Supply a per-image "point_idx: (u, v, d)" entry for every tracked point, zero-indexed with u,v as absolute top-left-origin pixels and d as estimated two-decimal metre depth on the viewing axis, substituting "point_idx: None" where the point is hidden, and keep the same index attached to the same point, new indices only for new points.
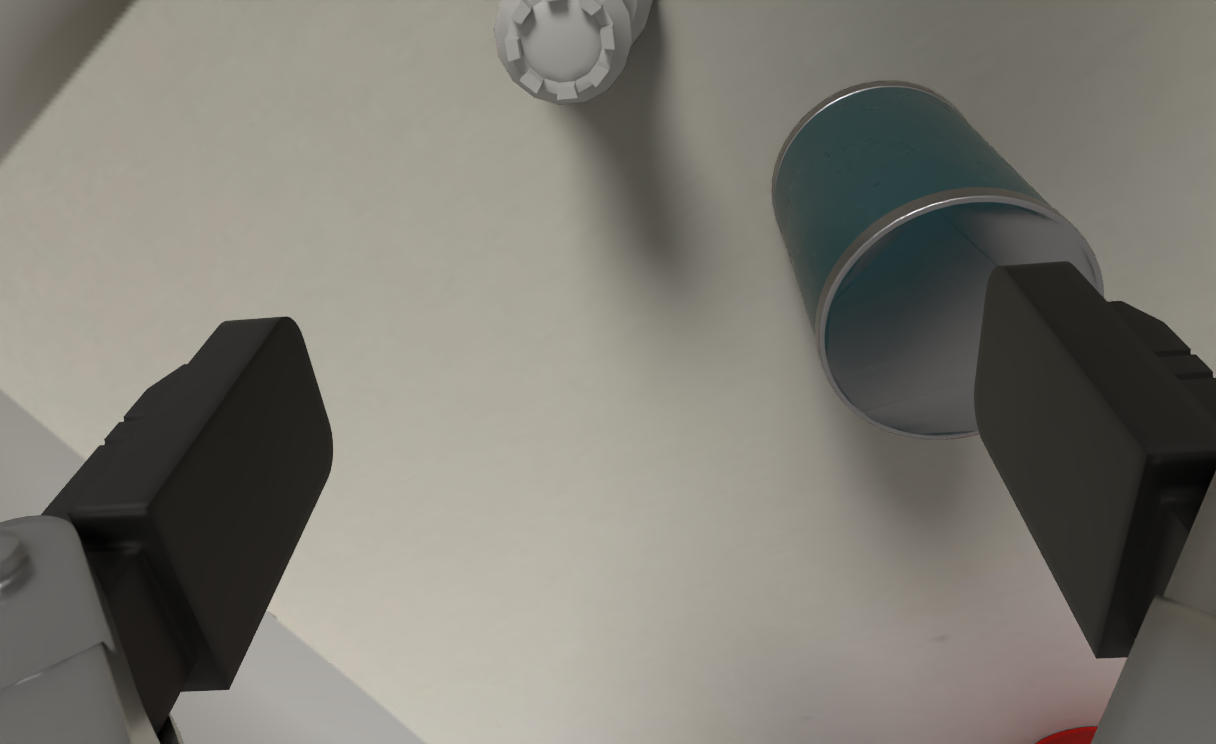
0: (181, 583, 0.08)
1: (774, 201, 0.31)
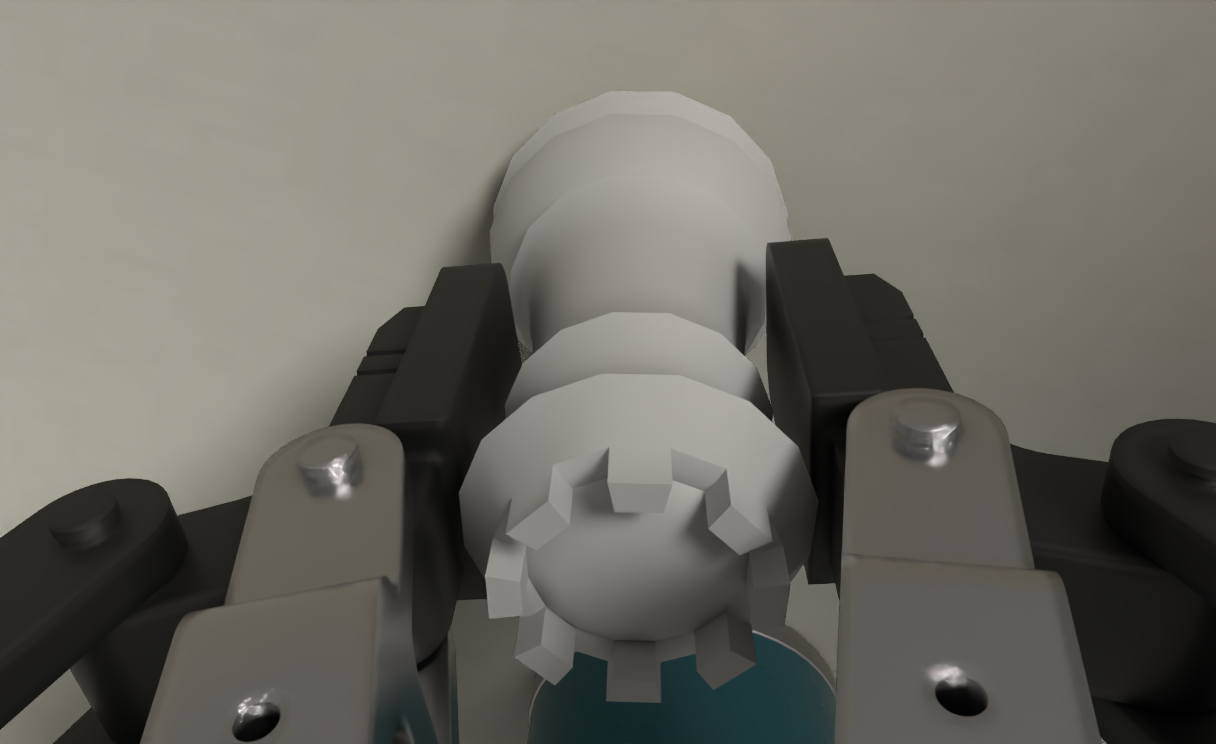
0: None
1: None
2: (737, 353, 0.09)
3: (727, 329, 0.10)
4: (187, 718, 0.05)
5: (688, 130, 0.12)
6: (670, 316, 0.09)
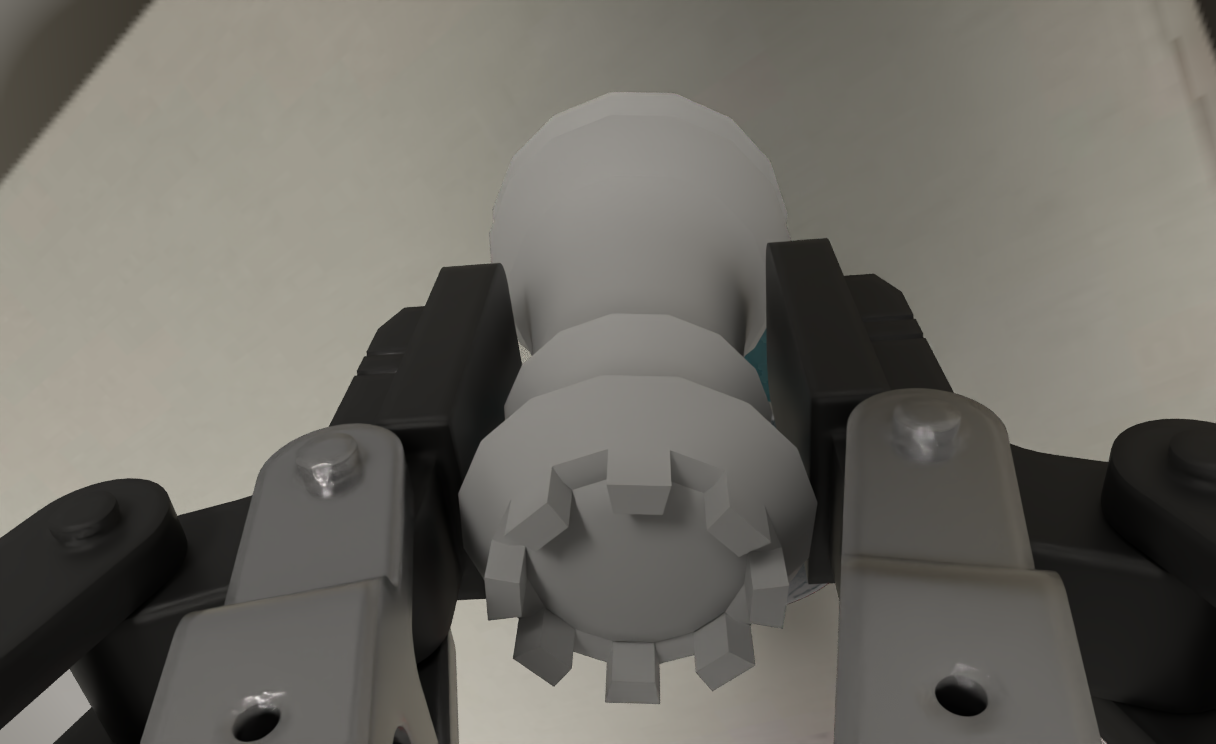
0: None
1: None
2: (736, 354, 0.09)
3: (726, 330, 0.10)
4: (187, 718, 0.05)
5: (688, 131, 0.12)
6: (669, 317, 0.09)
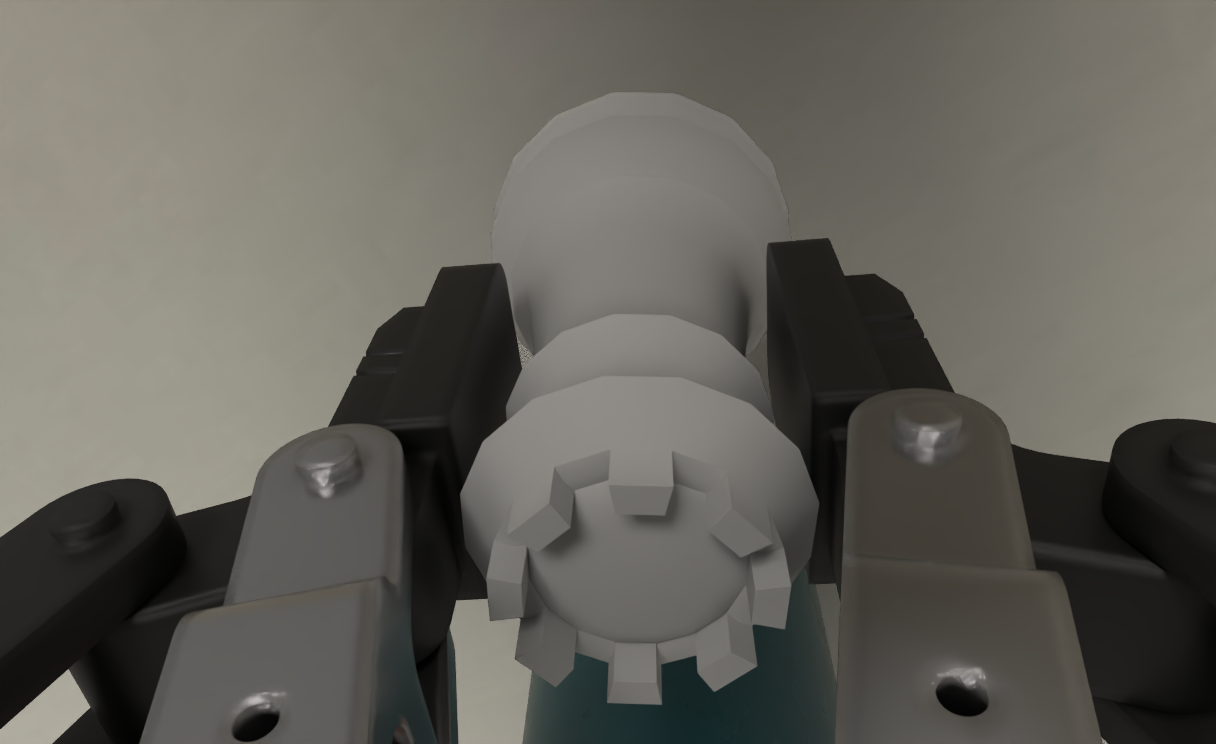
0: None
1: None
2: (738, 355, 0.09)
3: (728, 331, 0.10)
4: (186, 719, 0.05)
5: (689, 131, 0.12)
6: (671, 318, 0.09)
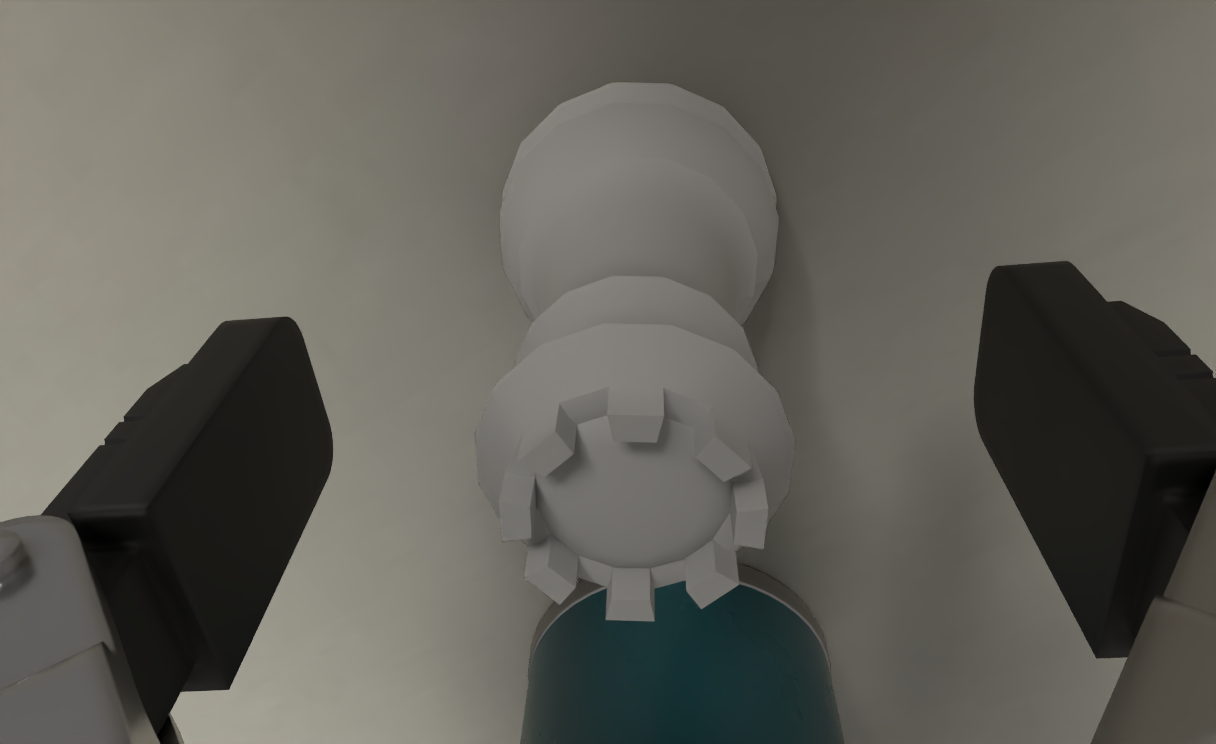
0: (181, 583, 0.08)
1: None
2: (725, 314, 0.10)
3: (717, 295, 0.11)
4: None
5: (684, 118, 0.13)
6: (664, 279, 0.10)
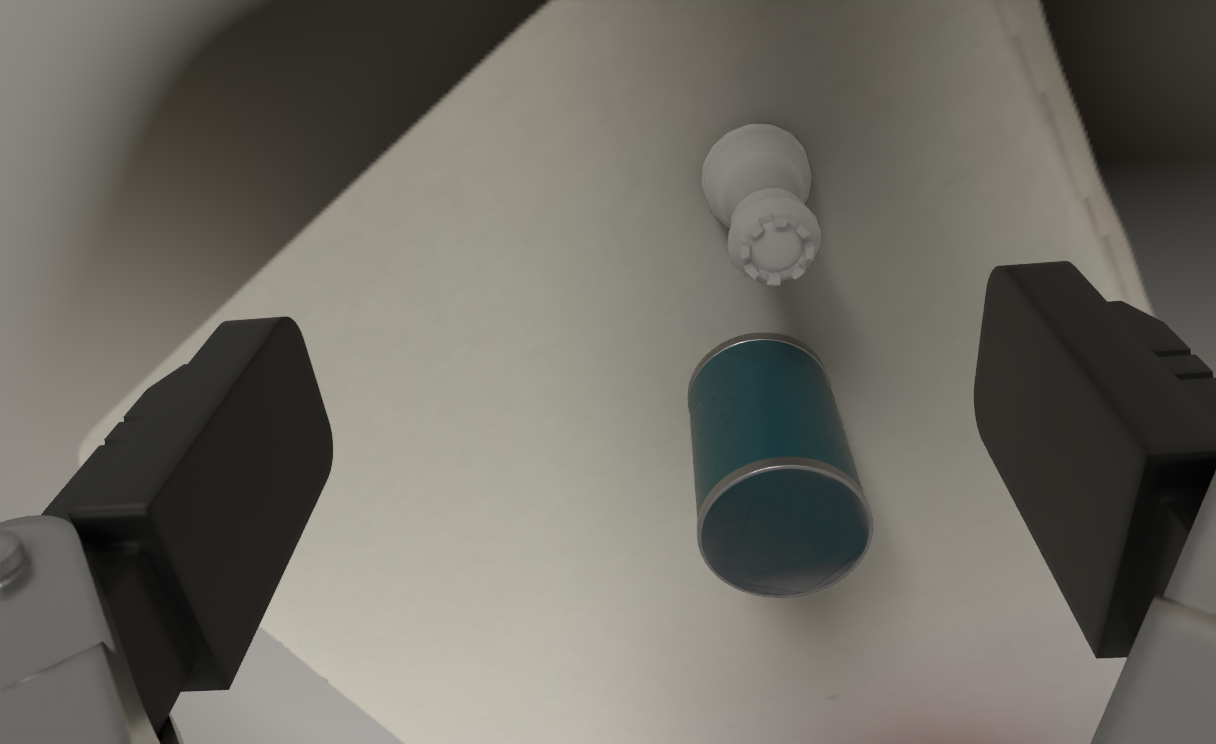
0: (181, 583, 0.08)
1: (689, 408, 0.44)
2: (798, 200, 0.34)
3: None
4: None
5: (778, 137, 0.36)
6: (781, 189, 0.33)
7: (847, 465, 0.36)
